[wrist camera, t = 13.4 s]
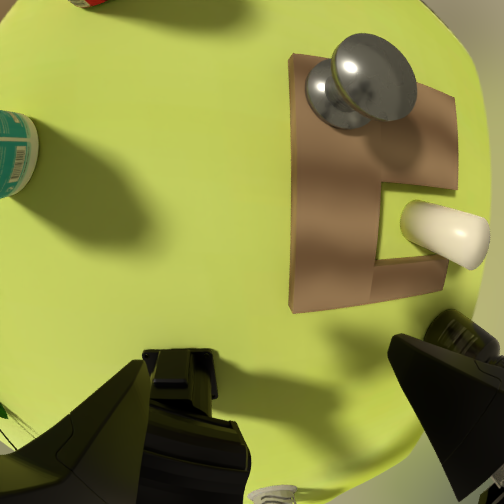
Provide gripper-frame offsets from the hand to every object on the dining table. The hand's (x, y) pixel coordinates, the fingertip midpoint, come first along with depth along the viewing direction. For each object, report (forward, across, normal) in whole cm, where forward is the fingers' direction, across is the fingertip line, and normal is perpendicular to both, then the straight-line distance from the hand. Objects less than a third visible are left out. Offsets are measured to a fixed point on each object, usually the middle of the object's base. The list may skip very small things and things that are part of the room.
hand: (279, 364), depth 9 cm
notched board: (+13, -12, -5) cm, 19 cm away
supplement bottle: (+13, -25, +12) cm, 30 cm away
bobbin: (+11, -7, -12) cm, 18 cm away
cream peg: (+13, -16, -2) cm, 21 cm away
